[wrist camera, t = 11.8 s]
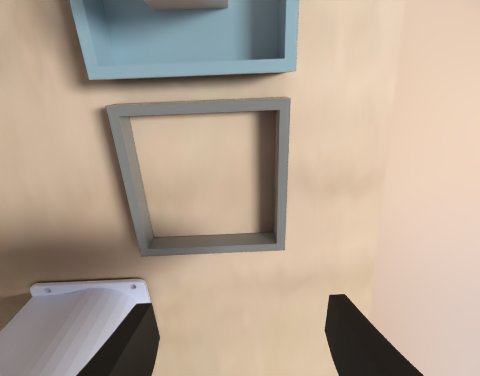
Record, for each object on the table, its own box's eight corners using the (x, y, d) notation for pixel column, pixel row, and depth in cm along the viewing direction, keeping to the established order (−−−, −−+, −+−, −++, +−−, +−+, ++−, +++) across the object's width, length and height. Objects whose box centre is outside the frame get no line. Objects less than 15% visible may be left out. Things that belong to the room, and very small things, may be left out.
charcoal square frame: (147, 244, 20) (141, 256, 19) (116, 103, 16) (105, 106, 15) (281, 238, 20) (284, 250, 19) (285, 96, 16) (290, 98, 15)
